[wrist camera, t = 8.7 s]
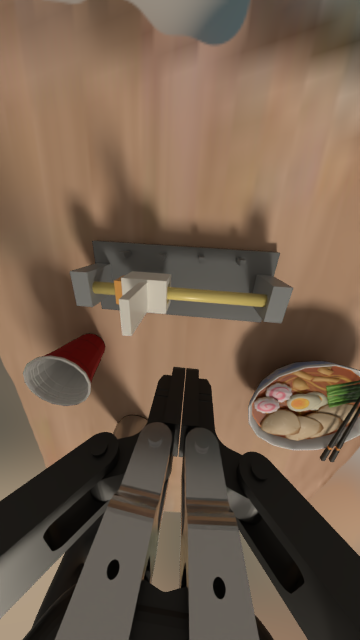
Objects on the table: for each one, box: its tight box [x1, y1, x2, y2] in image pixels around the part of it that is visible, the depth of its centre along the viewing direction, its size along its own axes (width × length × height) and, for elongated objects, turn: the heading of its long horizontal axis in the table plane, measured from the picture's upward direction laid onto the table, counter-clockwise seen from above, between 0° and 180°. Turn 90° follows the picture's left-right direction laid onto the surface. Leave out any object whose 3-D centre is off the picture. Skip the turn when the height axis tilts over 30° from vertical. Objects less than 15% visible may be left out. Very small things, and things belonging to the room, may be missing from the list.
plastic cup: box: [23, 334, 105, 406], centre depth 35 cm, size 11×11×12 cm
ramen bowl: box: [248, 361, 360, 462], centre depth 37 cm, size 25×23×8 cm
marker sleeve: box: [119, 271, 171, 336], centre depth 23 cm, size 6×5×12 cm
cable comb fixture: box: [70, 241, 293, 323], centre depth 29 cm, size 30×12×9 cm, turn 87°
